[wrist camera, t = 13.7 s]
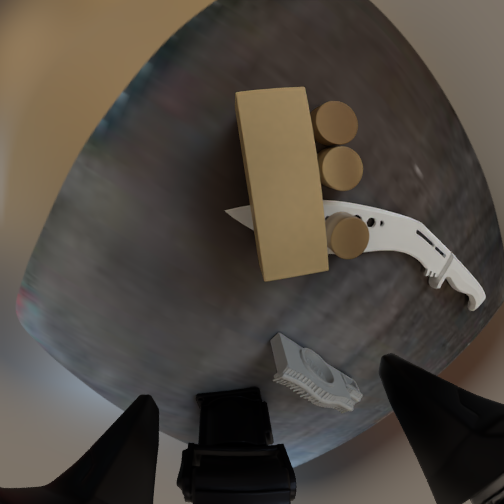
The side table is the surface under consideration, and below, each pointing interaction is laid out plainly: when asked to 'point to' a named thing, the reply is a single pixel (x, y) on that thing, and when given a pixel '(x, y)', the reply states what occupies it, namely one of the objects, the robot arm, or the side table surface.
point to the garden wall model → (313, 376)
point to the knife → (400, 245)
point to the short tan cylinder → (339, 168)
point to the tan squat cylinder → (346, 235)
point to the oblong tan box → (282, 181)
